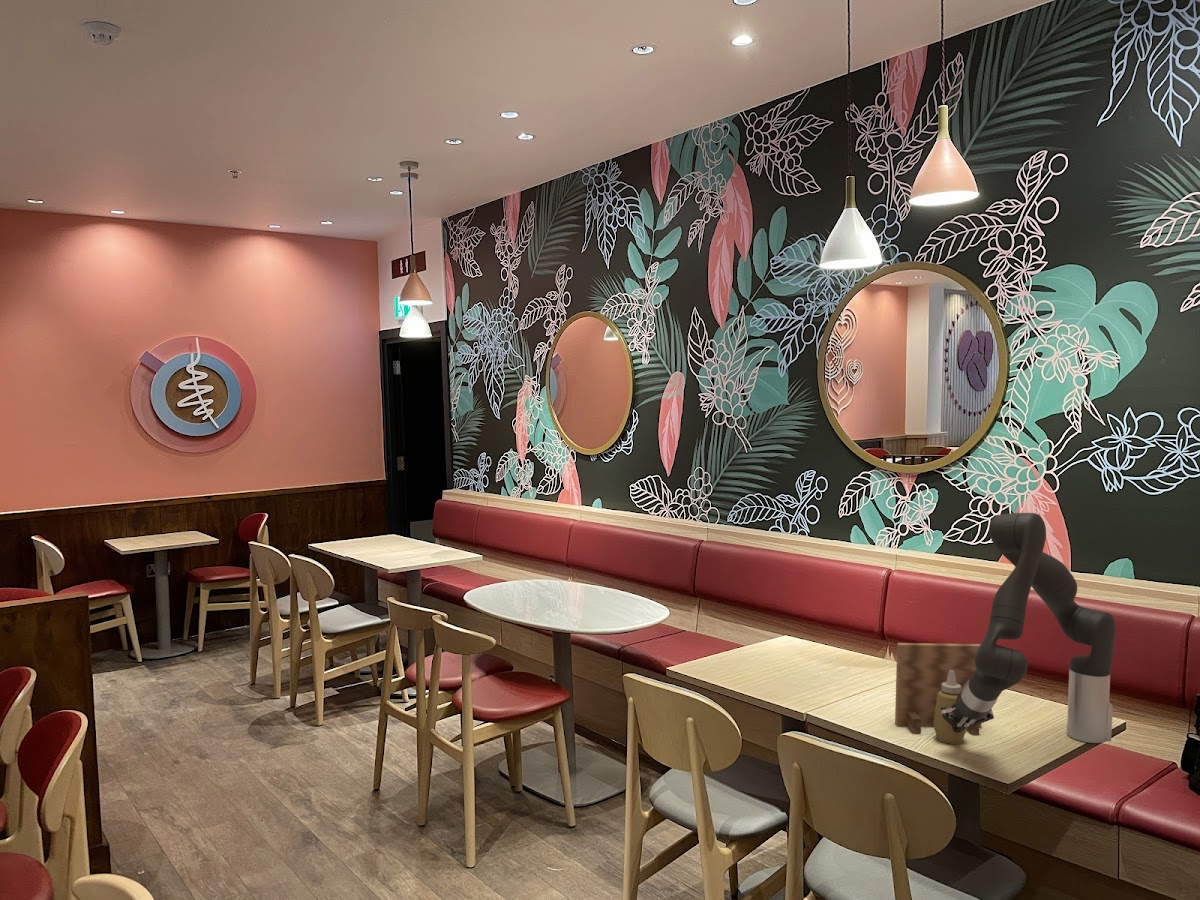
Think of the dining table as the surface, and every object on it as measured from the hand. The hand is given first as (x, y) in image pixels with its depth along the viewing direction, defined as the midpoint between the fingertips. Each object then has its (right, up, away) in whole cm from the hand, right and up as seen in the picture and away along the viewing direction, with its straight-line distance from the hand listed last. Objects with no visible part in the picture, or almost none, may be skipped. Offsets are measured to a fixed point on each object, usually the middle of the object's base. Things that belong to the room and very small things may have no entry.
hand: (956, 728), depth 223 cm
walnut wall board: (+1, -4, +11) cm, 12 cm away
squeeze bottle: (0, -4, +4) cm, 6 cm away
